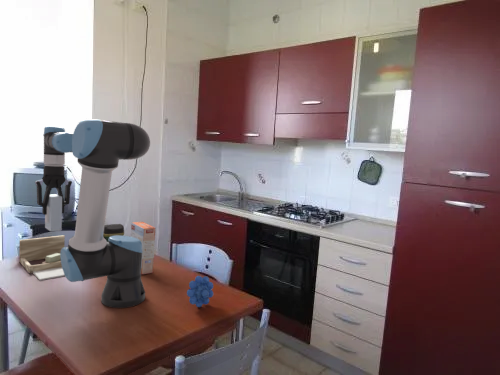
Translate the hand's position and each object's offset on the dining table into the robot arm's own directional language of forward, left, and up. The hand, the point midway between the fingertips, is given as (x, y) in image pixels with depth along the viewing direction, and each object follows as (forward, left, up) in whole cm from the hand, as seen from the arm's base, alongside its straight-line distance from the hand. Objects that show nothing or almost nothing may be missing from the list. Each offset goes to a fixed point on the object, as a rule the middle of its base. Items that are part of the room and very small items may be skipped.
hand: (53, 221), depth 147 cm
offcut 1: (+9, -3, -20) cm, 22 cm away
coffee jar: (+1, -26, -23) cm, 34 cm away
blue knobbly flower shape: (-61, -32, -23) cm, 73 cm away
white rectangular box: (0, 0, -3) cm, 3 cm away
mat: (0, 0, -22) cm, 22 cm away
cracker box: (-14, -33, -23) cm, 42 cm away
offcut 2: (+8, -3, -23) cm, 24 cm away
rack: (+14, -2, -22) cm, 26 cm away
